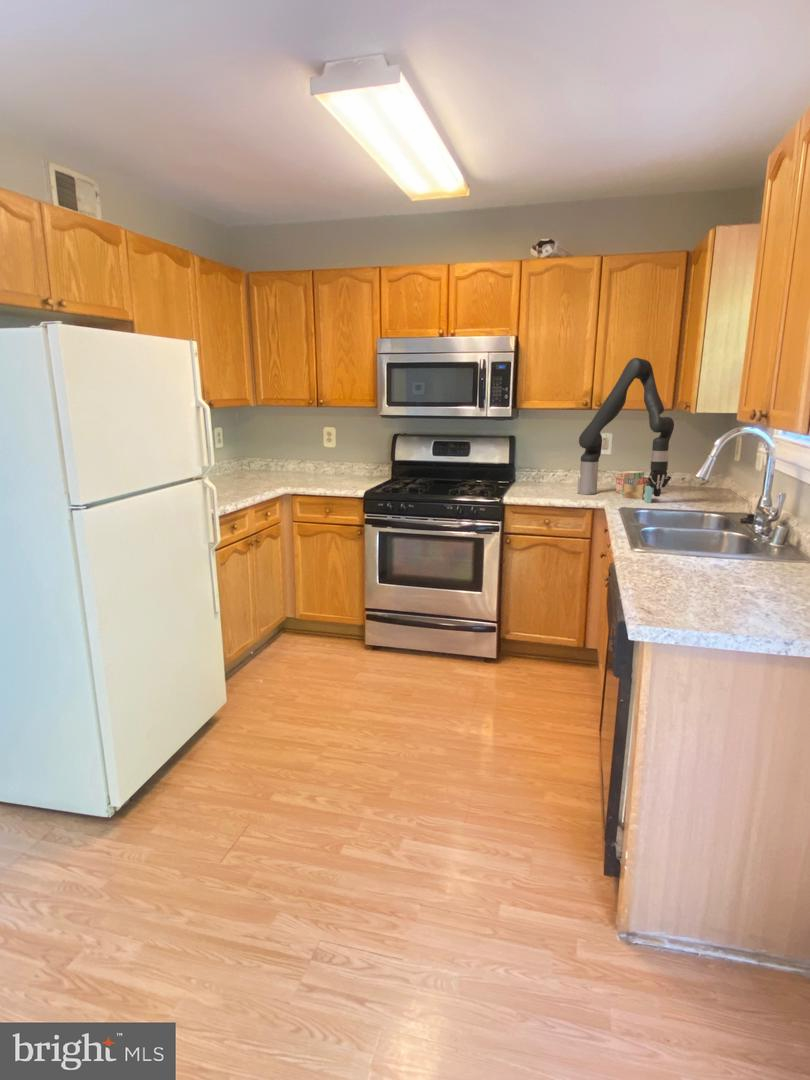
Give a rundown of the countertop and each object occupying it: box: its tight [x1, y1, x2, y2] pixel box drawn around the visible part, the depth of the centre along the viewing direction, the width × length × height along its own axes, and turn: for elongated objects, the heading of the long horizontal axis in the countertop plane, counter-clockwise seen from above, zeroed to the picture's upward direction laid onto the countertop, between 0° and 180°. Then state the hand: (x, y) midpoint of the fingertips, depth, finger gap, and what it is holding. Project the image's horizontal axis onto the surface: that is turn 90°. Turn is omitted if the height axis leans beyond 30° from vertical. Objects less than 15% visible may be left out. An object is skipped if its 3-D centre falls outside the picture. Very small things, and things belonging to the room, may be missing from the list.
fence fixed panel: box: [622, 484, 649, 500], centre depth 298 cm, size 12×2×8 cm, turn 55°
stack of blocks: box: [615, 470, 654, 496], centre depth 315 cm, size 21×6×12 cm, turn 105°
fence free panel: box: [643, 486, 653, 504], centre depth 289 cm, size 10×2×7 cm, turn 165°
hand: (656, 496), depth 286 cm, fingers closed
